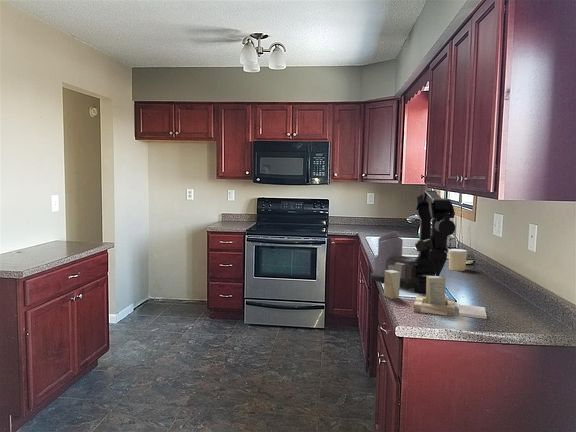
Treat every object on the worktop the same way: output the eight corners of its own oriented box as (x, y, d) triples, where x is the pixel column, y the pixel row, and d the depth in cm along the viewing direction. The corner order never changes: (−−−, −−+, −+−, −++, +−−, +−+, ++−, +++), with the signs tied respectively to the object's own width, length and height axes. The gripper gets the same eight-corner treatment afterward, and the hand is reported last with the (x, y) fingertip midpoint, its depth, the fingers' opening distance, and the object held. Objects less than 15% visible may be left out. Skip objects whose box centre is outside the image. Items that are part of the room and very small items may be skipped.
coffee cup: (458, 270, 245) (459, 248, 244) (470, 273, 236) (471, 251, 235) (444, 271, 242) (444, 249, 241) (455, 274, 233) (456, 251, 233)
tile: (458, 307, 170) (458, 304, 170) (484, 309, 167) (484, 307, 167) (458, 315, 159) (459, 313, 159) (486, 318, 156) (486, 316, 156)
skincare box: (442, 307, 169) (443, 275, 168) (445, 310, 165) (446, 278, 164) (424, 306, 170) (426, 275, 169) (427, 310, 165) (428, 277, 165)
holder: (416, 302, 176) (417, 295, 176) (454, 306, 171) (454, 299, 171) (413, 311, 163) (413, 304, 163) (454, 316, 158) (454, 309, 158)
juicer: (362, 278, 220) (363, 229, 218) (387, 275, 227) (389, 228, 226) (403, 292, 193) (405, 235, 192) (430, 288, 201) (433, 234, 199)
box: (383, 296, 184) (384, 270, 183) (391, 295, 186) (392, 269, 185) (391, 299, 179) (391, 272, 179) (399, 298, 181) (400, 271, 180)
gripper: (418, 229, 177) (417, 268, 178) (414, 234, 159) (413, 277, 160) (448, 231, 173) (447, 270, 174) (447, 235, 155) (445, 280, 156)
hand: (437, 274), depth 166 cm, fingers open, 5 cm apart
